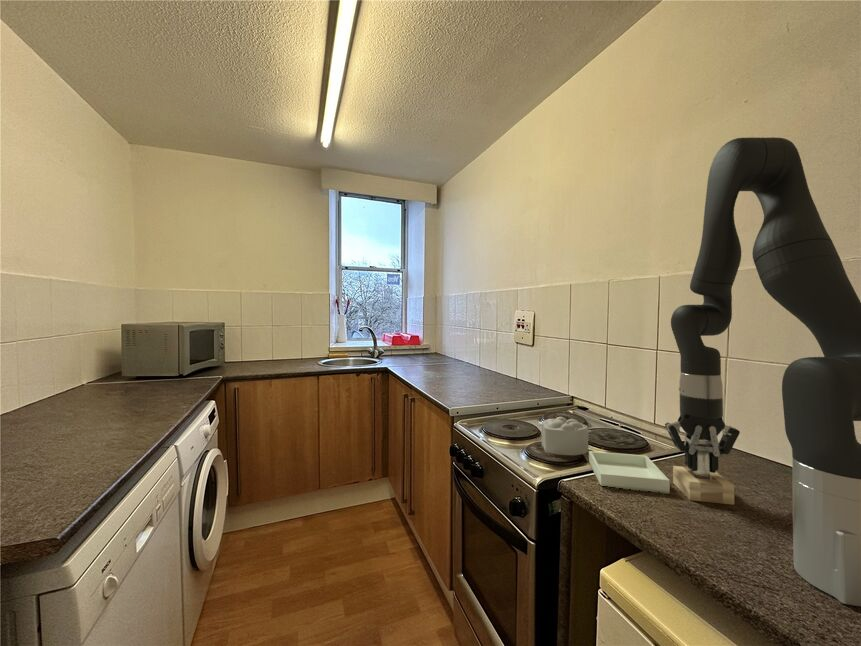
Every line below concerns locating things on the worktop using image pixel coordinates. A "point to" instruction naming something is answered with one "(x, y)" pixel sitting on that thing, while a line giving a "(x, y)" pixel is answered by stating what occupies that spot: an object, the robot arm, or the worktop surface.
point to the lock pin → (702, 460)
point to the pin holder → (703, 486)
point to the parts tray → (628, 472)
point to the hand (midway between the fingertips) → (701, 470)
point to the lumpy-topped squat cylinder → (564, 436)
